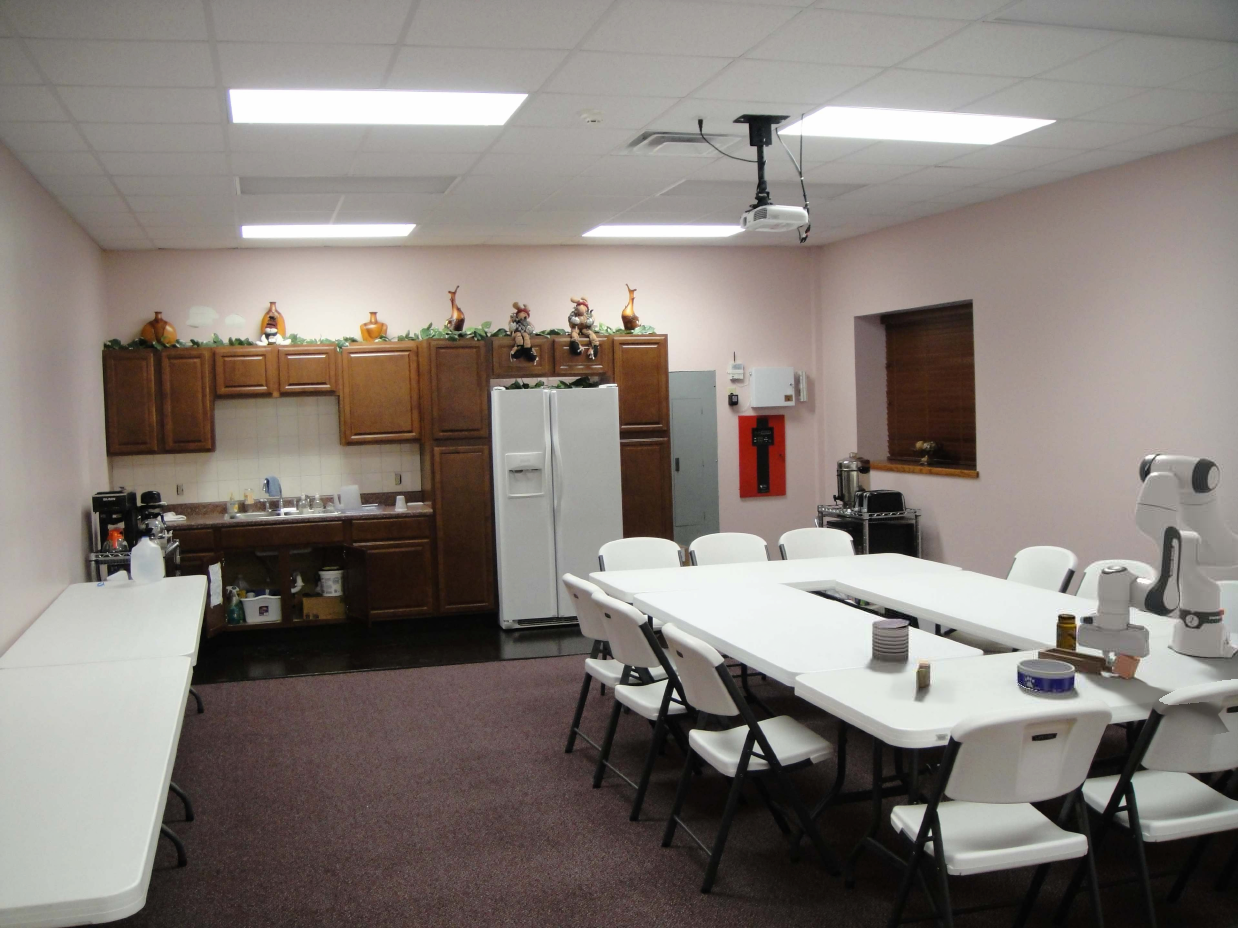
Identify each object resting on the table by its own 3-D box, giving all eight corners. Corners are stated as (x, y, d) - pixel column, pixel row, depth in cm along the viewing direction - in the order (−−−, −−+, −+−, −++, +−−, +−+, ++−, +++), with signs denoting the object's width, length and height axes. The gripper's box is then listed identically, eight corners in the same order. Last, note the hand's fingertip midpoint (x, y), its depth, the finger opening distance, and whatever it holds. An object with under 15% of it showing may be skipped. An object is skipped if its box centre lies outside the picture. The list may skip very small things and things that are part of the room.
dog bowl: (1008, 686, 285) (1008, 665, 285) (1028, 675, 296) (1028, 655, 296) (1063, 696, 275) (1064, 675, 274) (1082, 684, 286) (1082, 664, 285)
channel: (1051, 657, 315) (1051, 646, 315) (1112, 669, 300) (1112, 658, 300) (1037, 662, 310) (1038, 651, 310) (1099, 674, 295) (1099, 663, 295)
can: (907, 664, 309) (908, 626, 309) (870, 661, 313) (870, 624, 312) (909, 655, 320) (909, 618, 319) (873, 652, 324) (873, 616, 323)
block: (1119, 668, 296) (1125, 651, 295) (1133, 676, 293) (1140, 658, 291) (1112, 671, 294) (1118, 653, 292) (1126, 679, 290) (1133, 661, 289)
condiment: (1080, 654, 319) (1081, 617, 319) (1053, 653, 320) (1054, 617, 319) (1072, 648, 327) (1073, 612, 326) (1046, 648, 327) (1046, 612, 327)
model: (930, 685, 288) (930, 659, 287) (927, 695, 278) (928, 668, 278) (918, 684, 289) (918, 658, 289) (916, 694, 279) (916, 667, 279)
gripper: (1154, 625, 289) (1152, 671, 290) (1084, 613, 305) (1083, 658, 306) (1144, 628, 285) (1143, 675, 286) (1074, 616, 301) (1073, 661, 302)
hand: (1111, 666), depth 296 cm, fingers closed
